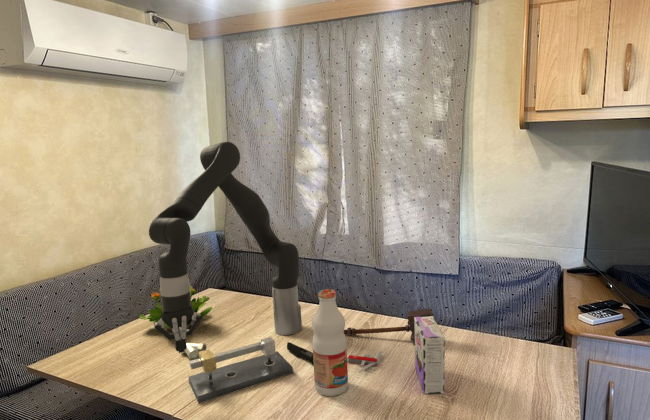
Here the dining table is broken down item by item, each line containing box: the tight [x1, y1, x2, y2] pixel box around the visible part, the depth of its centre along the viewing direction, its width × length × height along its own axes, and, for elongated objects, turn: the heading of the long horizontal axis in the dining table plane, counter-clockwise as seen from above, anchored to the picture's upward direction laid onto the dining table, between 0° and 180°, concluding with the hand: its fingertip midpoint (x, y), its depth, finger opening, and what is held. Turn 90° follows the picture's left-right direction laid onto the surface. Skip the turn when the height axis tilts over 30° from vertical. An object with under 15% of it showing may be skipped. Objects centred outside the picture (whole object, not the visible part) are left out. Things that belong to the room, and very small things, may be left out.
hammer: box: [344, 307, 435, 346], centre depth 150 cm, size 7×33×10 cm, turn 73°
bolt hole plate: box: [188, 350, 294, 404], centre depth 129 cm, size 28×12×2 cm, turn 119°
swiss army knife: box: [347, 351, 382, 373], centre depth 134 cm, size 12×14×2 cm
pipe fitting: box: [180, 341, 208, 361], centre depth 145 cm, size 8×4×7 cm
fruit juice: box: [311, 288, 349, 397], centre depth 120 cm, size 9×9×28 cm
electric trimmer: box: [286, 341, 314, 367], centre depth 140 cm, size 4×16×3 cm, turn 42°
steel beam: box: [189, 336, 276, 370], centre depth 129 cm, size 24×6×7 cm, turn 119°
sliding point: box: [198, 348, 217, 380], centre depth 126 cm, size 3×7×7 cm, turn 29°
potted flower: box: [139, 285, 213, 332], centre depth 168 cm, size 25×24×18 cm
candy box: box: [414, 315, 446, 395], centre depth 122 cm, size 14×6×16 cm, turn 178°
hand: (181, 351), depth 120 cm, fingers closed
